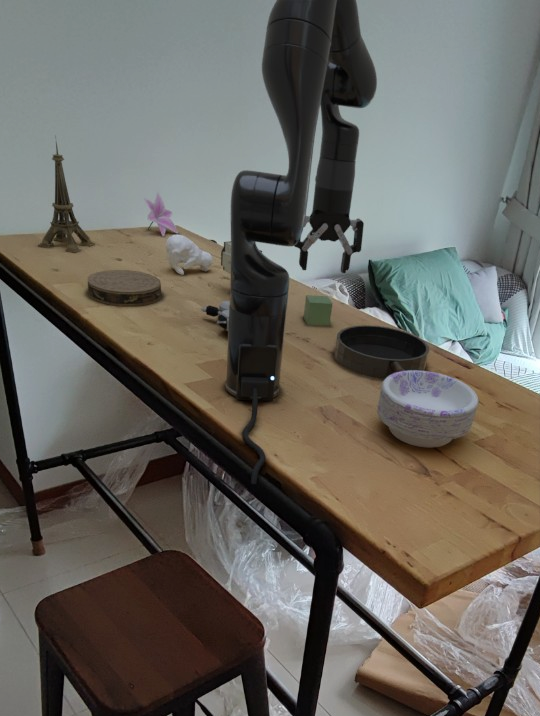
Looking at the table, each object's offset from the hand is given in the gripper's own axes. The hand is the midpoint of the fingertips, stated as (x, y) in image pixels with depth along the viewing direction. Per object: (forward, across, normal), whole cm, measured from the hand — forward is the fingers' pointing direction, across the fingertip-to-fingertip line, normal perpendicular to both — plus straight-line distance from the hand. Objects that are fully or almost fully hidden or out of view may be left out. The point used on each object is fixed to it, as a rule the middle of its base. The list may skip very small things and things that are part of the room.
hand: (323, 270), depth 136 cm
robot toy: (+11, -18, -6) cm, 22 cm away
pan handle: (+9, +9, -34) cm, 36 cm away
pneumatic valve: (+11, -16, +16) cm, 25 cm away
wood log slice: (+11, -42, +12) cm, 45 cm away
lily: (+11, -35, +71) cm, 80 cm away
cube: (+11, 0, 0) cm, 11 cm away
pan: (+11, +9, -21) cm, 25 cm away
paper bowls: (+12, +8, -51) cm, 53 cm away
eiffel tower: (+11, -59, +50) cm, 78 cm away
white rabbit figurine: (+11, -27, +33) cm, 44 cm away
